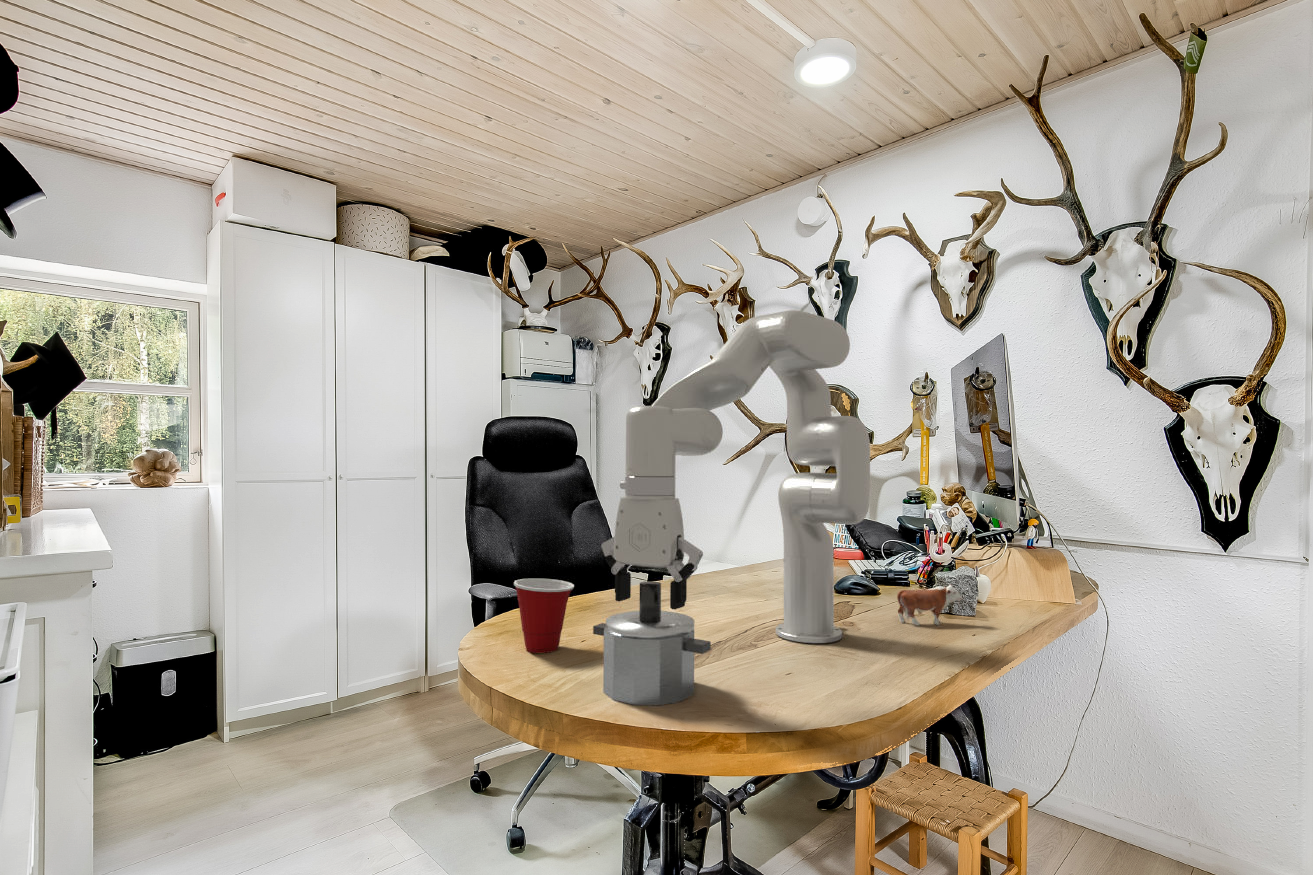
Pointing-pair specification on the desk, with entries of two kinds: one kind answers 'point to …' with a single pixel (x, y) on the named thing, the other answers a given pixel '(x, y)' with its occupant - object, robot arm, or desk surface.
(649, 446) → the robot arm
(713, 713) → the desk surface
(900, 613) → the bull figurine
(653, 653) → the pot
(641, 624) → the lid
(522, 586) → the plastic cup
